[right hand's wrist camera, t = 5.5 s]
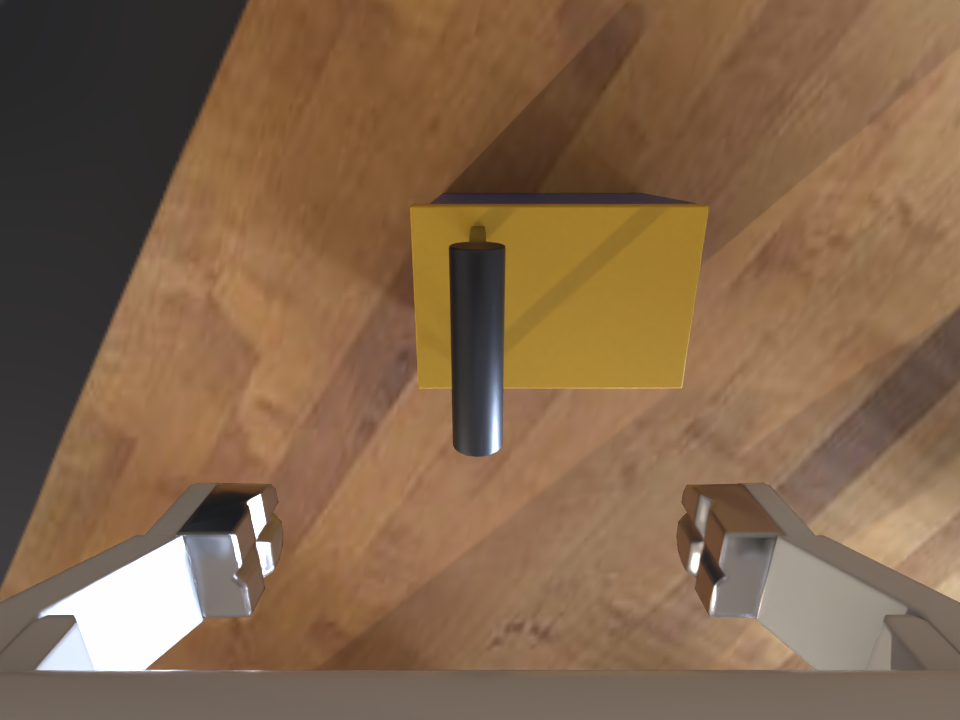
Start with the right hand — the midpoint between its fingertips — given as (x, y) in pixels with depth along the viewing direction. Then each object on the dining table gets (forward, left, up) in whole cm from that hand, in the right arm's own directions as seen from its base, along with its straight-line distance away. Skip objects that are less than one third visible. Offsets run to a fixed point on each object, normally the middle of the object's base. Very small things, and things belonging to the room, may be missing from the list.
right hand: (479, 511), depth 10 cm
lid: (-2, -3, -18) cm, 18 cm away
